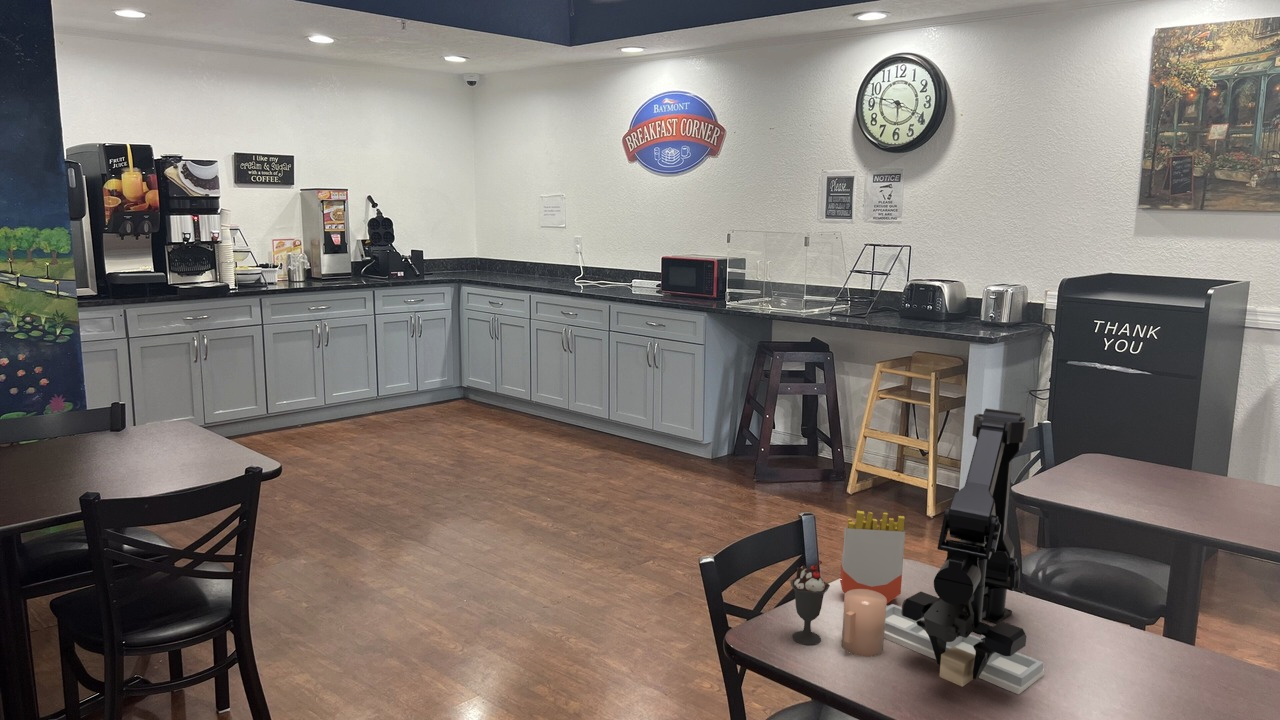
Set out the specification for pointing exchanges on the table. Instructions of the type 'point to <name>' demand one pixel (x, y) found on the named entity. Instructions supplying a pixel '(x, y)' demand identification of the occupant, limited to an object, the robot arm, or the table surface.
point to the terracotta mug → (864, 622)
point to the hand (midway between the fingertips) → (957, 671)
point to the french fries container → (873, 555)
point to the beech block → (957, 666)
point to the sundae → (808, 601)
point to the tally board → (998, 670)
